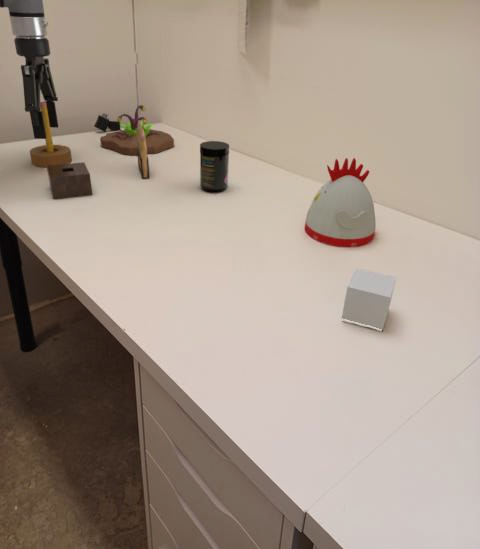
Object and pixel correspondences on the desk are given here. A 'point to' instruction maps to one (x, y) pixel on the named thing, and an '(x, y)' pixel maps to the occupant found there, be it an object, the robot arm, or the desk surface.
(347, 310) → the light grey cube
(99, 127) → the lighter
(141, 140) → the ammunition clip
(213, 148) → the supplement container
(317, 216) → the kitchen timer
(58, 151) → the tape roll
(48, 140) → the pencil
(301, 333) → the desk surface
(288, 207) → the desk surface
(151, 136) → the plant
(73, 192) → the block
